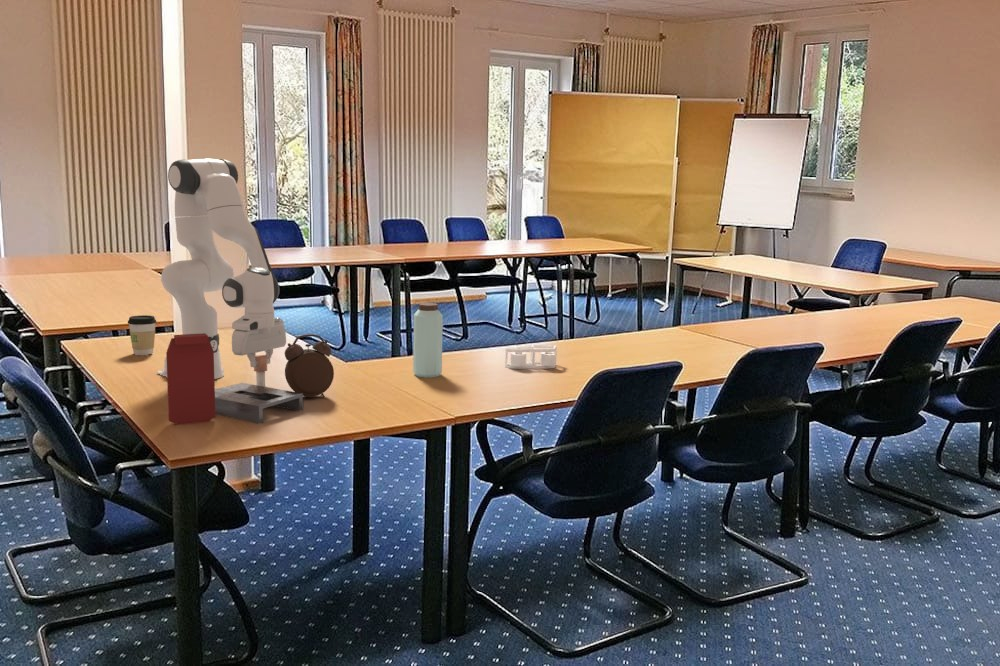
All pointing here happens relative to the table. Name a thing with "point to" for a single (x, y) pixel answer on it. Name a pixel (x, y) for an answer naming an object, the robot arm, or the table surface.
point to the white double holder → (520, 358)
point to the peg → (261, 369)
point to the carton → (190, 379)
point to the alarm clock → (309, 367)
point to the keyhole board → (253, 401)
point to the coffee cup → (142, 334)
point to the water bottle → (427, 341)
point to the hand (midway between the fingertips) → (260, 365)
